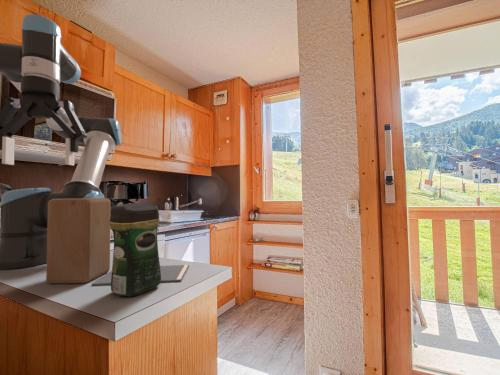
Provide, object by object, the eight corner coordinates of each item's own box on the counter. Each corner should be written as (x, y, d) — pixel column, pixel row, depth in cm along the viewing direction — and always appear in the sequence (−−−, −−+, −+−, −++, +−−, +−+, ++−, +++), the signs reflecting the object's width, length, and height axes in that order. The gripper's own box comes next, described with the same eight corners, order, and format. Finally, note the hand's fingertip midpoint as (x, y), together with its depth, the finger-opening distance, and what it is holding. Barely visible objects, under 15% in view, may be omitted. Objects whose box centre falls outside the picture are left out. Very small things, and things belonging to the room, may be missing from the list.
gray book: (116, 269, 69) (116, 267, 69) (189, 266, 71) (189, 264, 71) (91, 285, 56) (91, 283, 56) (181, 281, 58) (181, 279, 58)
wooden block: (86, 284, 57) (87, 198, 58) (43, 284, 57) (45, 198, 58) (111, 271, 67) (112, 198, 68) (75, 271, 67) (76, 198, 68)
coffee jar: (145, 277, 60) (144, 201, 59) (166, 284, 55) (166, 202, 55) (103, 292, 51) (102, 203, 51) (125, 302, 47) (124, 205, 47)
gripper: (-32, 69, 56) (-35, 161, 55) (88, 77, 61) (87, 163, 60) (-4, 84, 64) (-6, 166, 63) (101, 90, 68) (100, 166, 67)
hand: (39, 164), depth 61 cm, fingers open, 13 cm apart
